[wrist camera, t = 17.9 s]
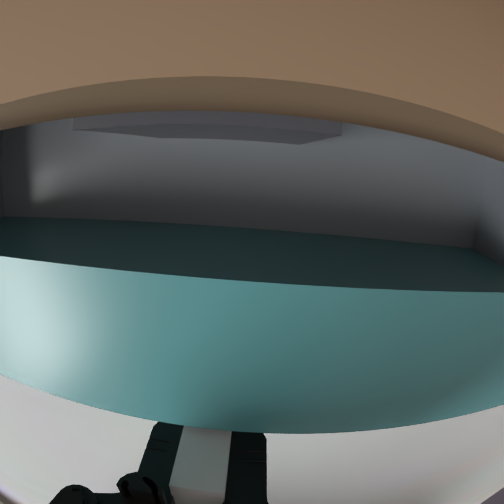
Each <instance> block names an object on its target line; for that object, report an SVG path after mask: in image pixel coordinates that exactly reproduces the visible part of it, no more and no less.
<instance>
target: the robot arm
mask: <svg viewBox="0 0 504 504" xmlns="http://www.w3.org/2000/svg"><path fill="white" fill-rule="evenodd" d="M266 461H267V454H266V437H265V436H264V434H263V433H255V432H239V431H227V430H217V429H207V428H199V427H191V426H184V425H177V424H171V423H165V422H158V423H157V424H156V425H155V426H154V427H153V429H152V432H151V435H150V439H149V441H148V443H147V446H146V449H145V452H144V455H143V458H142V461H141V464H140V467H139V470H138V472H134V473H129V474H126V475H125V476H123V477H122V478H120V480H119V481H118V483H117V484H116V485H117V487H118V489H119V491H120V492H119V493H93V492H92V491H91V490H89V489H88V488H86V487H84V486H81V485H70V486H66V487H65V488H63V489H62V490H61V491H60V492H59V493H58V494H57V495H56V496H55V497H54V499H53V500H52V501H51V502H50V503H49V504H268V502H267V463H266Z"/></svg>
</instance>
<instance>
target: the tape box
mask: <svg viewBox="0 0 504 504" xmlns="http://www.w3.org/2000/svg"><path fill="white" fill-rule="evenodd" d="M72 130H79V131H93V132H106V133H117V134H127V135H136V136H145V137H153V138H161V139H163V138H183V139H223V140H244V141H259V142H273V143H284V144H295V145H301V144H305V143H310V142H314V141H318V140H323V139H327V138H332V137H337V136H342V122H337V121H330V120H323V119H315V118H307V117H298V116H288V115H277V114H265V113H250V112H230V111H150V112H131V113H116V114H104V115H94V116H85V117H76V118H73V127H72Z"/></svg>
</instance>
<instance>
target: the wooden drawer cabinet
mask: <svg viewBox="0 0 504 504" xmlns="http://www.w3.org/2000/svg"><path fill="white" fill-rule="evenodd" d="M150 111H230V112H250V113H265V114H277V115H288V116H298V117H307V118H315V119H323V120H330V121H337V122H343V123H350V124H356V125H362V126H367V127H373V128H378V129H383V130H388V131H393V132H398V133H402V134H407V135H411V136H415V137H420V138H424V139H428V140H432V141H436V142H439V143H443V144H447V145H450V146H454V147H457V148H461V149H464V150H468V151H471V152H474V153H477V154H480V155H484V156H487V157H490V158H493V159H495V160H498V161H501V162H504V0H0V131H1V130H5V129H10V128H15V127H20V126H25V125H30V124H36V123H42V122H48V121H54V120H61V119H69V118H76V117H85V116H94V115H104V114H116V113H131V112H150Z"/></svg>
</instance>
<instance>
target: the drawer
mask: <svg viewBox="0 0 504 504" xmlns="http://www.w3.org/2000/svg"><path fill="white" fill-rule="evenodd" d="M72 127H73V118H69V119H61V120H54V121H48V122H42V123H36V124H30V125H25V126H20V127H15V128H10V129H5V130H1V131H0V375H3V376H5V377H7V378H10V379H12V380H15V381H17V382H20V383H22V384H25V385H27V386H30V387H33V388H35V389H38V390H41V391H44V392H47V393H49V394H52V395H55V396H58V397H62V398H65V399H68V400H71V401H74V402H78V403H81V404H85V405H88V406H92V407H96V408H99V409H103V410H107V411H111V412H116V413H120V414H124V415H129V416H133V417H138V418H143V419H148V420H154V421H159V422H165V423H171V424H177V425H184V426H191V427H199V428H207V429H217V430H227V431H239V432H255V433H284V434H311V433H339V432H355V431H367V430H377V429H386V428H395V427H402V426H409V425H415V424H422V423H427V422H433V421H438V420H443V419H448V418H453V417H457V416H462V415H466V414H470V413H474V412H478V411H482V410H486V409H489V408H493V407H496V406H500V405H503V404H504V162H501V161H498V160H495V159H493V158H490V157H487V156H484V155H480V154H477V153H474V152H471V151H468V150H464V149H461V148H457V147H454V146H450V145H447V144H443V143H439V142H436V141H432V140H428V139H424V138H420V137H415V136H411V135H407V134H402V133H398V132H393V131H388V130H383V129H378V128H373V127H367V126H362V125H356V124H350V123H343V122H342V136H337V137H332V138H327V139H323V140H318V141H314V142H310V143H305V144H301V145H295V144H284V143H273V142H259V141H244V140H223V139H183V138H163V139H161V138H153V137H145V136H136V135H127V134H117V133H106V132H93V131H79V130H72Z"/></svg>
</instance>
